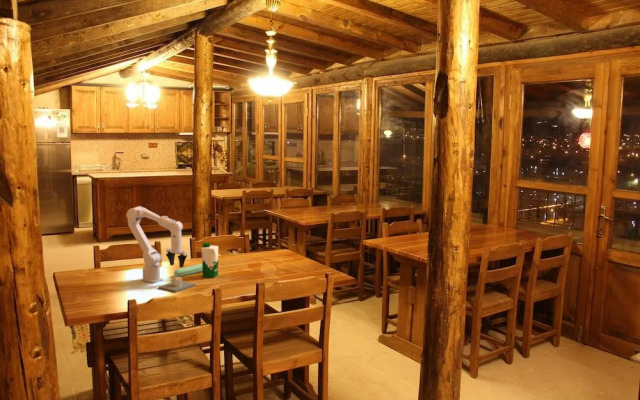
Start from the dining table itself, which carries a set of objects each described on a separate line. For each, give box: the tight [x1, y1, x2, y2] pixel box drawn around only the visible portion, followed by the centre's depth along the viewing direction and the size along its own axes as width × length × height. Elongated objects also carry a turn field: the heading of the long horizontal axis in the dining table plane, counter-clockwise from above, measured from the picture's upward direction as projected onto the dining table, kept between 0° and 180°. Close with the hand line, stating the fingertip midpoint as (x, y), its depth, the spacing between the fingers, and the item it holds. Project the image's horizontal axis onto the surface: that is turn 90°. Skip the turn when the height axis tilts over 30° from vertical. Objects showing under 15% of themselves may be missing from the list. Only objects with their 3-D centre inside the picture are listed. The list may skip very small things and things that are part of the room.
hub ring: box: [171, 276, 183, 287], centre depth 309 cm, size 5×5×4 cm
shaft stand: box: [158, 278, 196, 293], centre depth 309 cm, size 13×15×5 cm
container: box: [173, 263, 202, 278], centre depth 338 cm, size 6×6×25 cm
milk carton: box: [200, 242, 219, 279], centre depth 331 cm, size 9×9×20 cm
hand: (176, 266), depth 318 cm, fingers open, 7 cm apart
